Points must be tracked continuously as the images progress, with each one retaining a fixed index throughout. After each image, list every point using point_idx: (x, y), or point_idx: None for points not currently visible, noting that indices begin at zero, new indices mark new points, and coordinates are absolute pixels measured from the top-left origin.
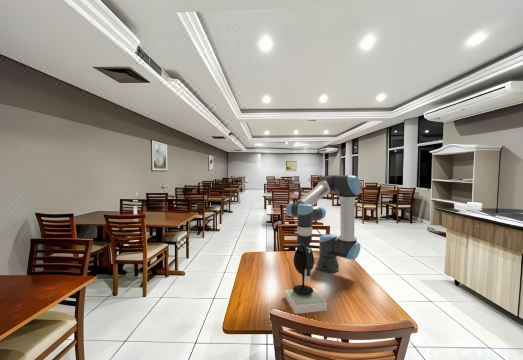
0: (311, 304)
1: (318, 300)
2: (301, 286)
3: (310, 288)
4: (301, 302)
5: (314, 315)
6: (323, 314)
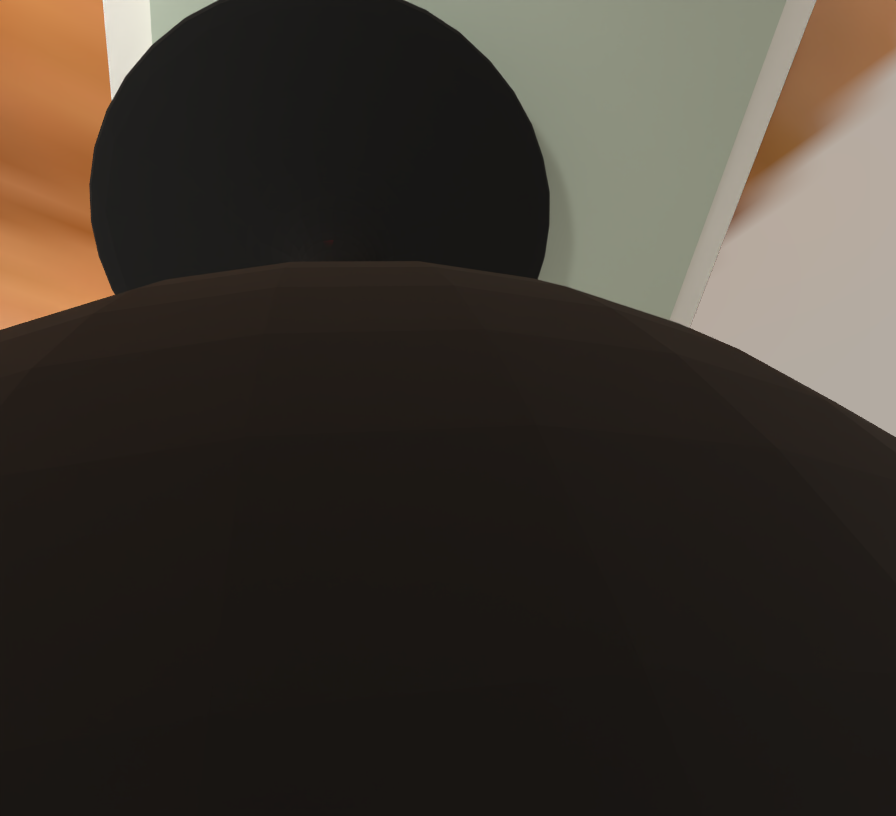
0: (713, 248)
1: (706, 65)
2: (226, 239)
3: (357, 55)
4: None
5: (746, 204)
6: (804, 56)
